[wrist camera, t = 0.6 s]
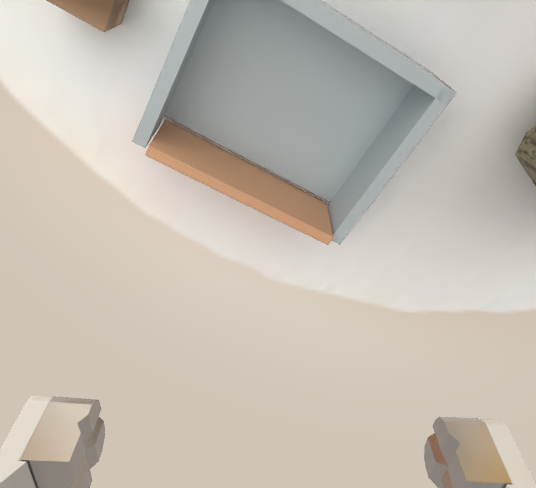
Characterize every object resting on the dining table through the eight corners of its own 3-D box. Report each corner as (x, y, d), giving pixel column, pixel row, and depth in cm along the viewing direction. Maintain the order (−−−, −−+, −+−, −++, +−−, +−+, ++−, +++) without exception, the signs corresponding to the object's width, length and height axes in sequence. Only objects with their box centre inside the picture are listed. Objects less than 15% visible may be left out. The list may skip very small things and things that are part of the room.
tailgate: (165, 119, 45) (149, 145, 40) (326, 203, 50) (333, 237, 44) (159, 131, 46) (143, 158, 40) (319, 213, 51) (325, 248, 45)
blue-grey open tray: (225, -62, 38) (216, -64, 32) (431, 72, 44) (456, 92, 38) (150, 116, 47) (132, 141, 41) (332, 210, 52) (339, 244, 46)
